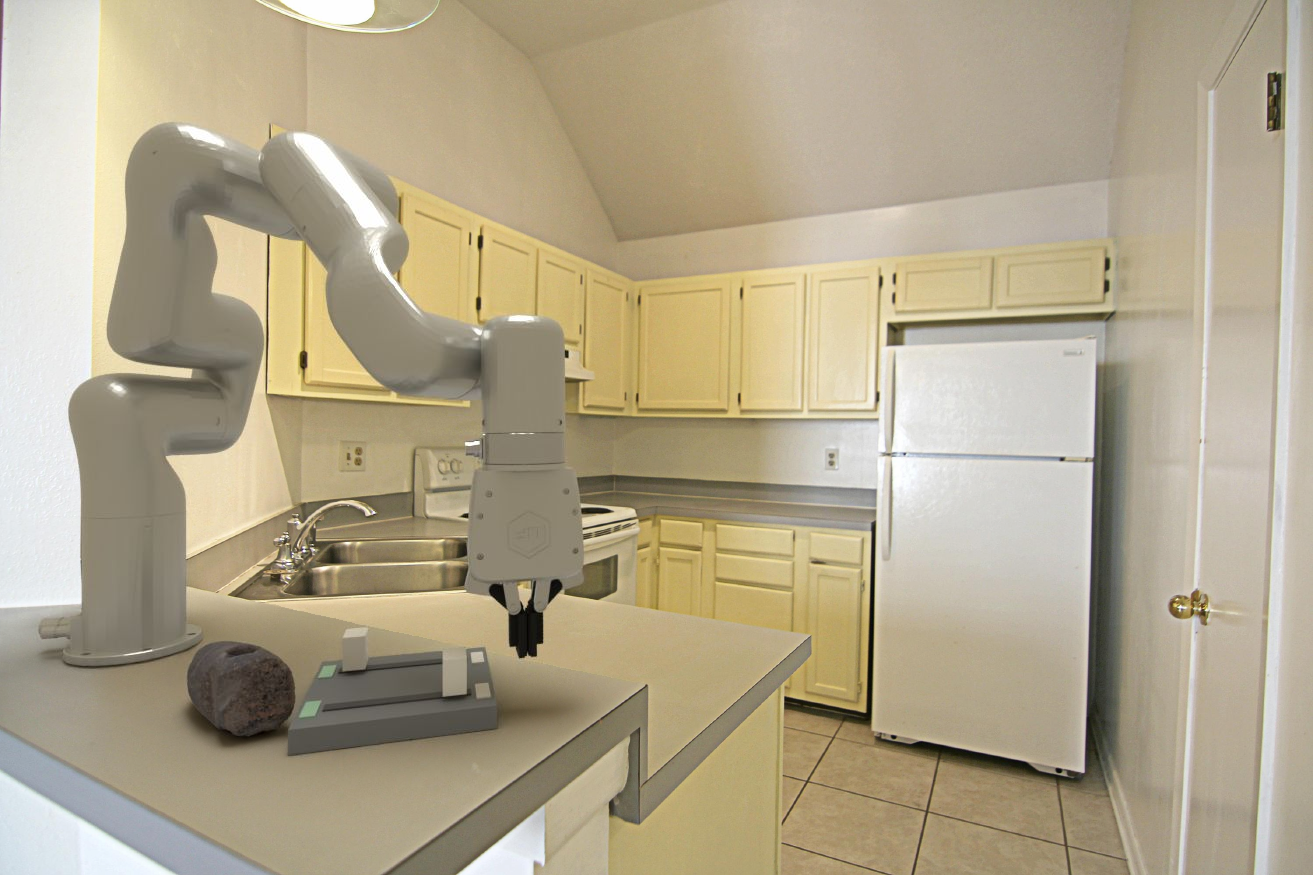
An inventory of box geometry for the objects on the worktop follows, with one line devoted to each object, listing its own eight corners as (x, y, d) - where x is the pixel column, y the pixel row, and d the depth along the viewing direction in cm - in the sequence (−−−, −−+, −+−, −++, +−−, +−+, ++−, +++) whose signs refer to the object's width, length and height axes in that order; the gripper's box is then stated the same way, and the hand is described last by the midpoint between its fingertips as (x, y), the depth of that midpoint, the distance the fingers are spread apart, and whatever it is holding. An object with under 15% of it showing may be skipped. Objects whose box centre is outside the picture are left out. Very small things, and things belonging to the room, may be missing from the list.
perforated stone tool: (168, 707, 61) (167, 632, 61) (232, 690, 65) (232, 619, 65) (231, 758, 52) (231, 670, 52) (301, 734, 56) (301, 652, 56)
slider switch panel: (287, 755, 52) (288, 728, 52) (322, 681, 68) (322, 660, 68) (497, 728, 57) (497, 703, 57) (485, 665, 72) (485, 645, 72)
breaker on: (342, 671, 64) (342, 637, 63) (346, 660, 66) (346, 628, 66) (365, 669, 64) (365, 636, 64) (368, 658, 67) (368, 627, 67)
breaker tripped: (442, 696, 58) (442, 659, 58) (442, 683, 61) (442, 648, 61) (466, 694, 58) (466, 657, 58) (465, 681, 61) (465, 646, 61)
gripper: (438, 456, 55) (440, 677, 55) (613, 452, 60) (615, 657, 60) (438, 453, 62) (440, 649, 62) (595, 450, 67) (596, 633, 67)
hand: (526, 652), depth 61 cm, fingers closed
